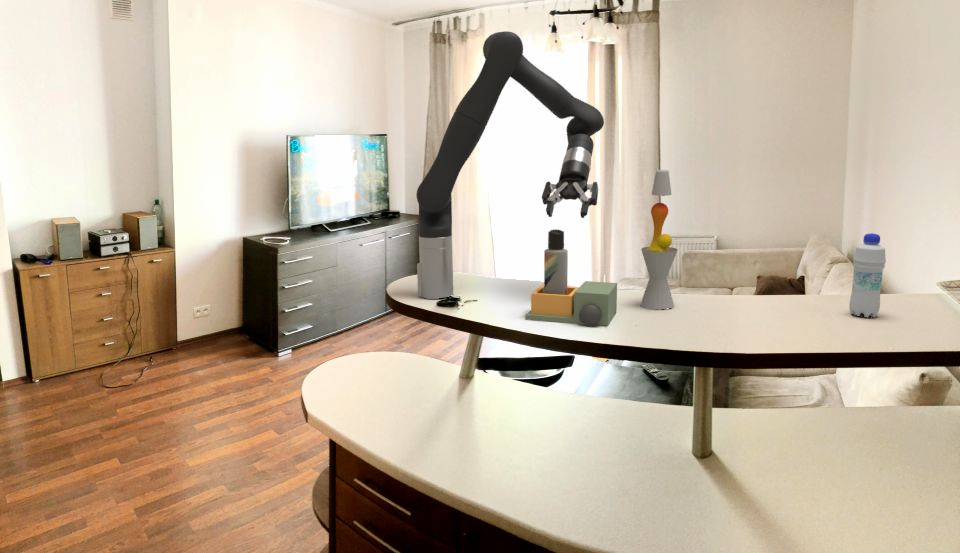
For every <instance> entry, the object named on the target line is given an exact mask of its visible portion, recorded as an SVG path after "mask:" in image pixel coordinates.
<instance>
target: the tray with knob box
mask: <svg viewBox="0 0 960 553" xmlns="http://www.w3.org/2000/svg"><path fill="white" fill-rule="evenodd" d="M617 301H618V283H617V282H605V281H590V280H589V281H588V280H585V281H584V282H583V283H582V284H581V285H580V286H579V287H575V286H567V295H558V294H544V284H542V285H540V286H539V287H537V288H536V289H535V290H534V291H532V292H531V293H530V310H529V311H527V313H526V314H525V317H524V318H525V320H527V321H528V320H529V321H541V322H552V323H564V324H565V323H566V324H576V325H585V326H586V327H591V328H592V327H595V326H600V327H601V326H603V327H609V325H610V324H611V322H612V321H613V319H614V318H615V316H616V314H617V308H618V307H617V305H618V304H617V303H618V302H617Z"/></svg>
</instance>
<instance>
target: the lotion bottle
mask: <svg viewBox="0 0 960 553" xmlns="http://www.w3.org/2000/svg"><path fill="white" fill-rule="evenodd" d="M547 234H548V235H547V236H548V237H547V249H544V257H543V259H544V261H543V262H544V264H543V267H544V269H543V272H544V273H543V274H544V275H543V277H544V278H543V279H544V280H543V283H544V284H543V285H544V294H558V295H567V287H568V268H569V267H568V260H569V259H568V258H569V257H568V255H569V253H568V252H569V251H568V249H566V248H565V231H563V230H561V229H551V230H549V231H548V233H547Z"/></svg>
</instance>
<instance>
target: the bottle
mask: <svg viewBox="0 0 960 553" xmlns="http://www.w3.org/2000/svg"><path fill="white" fill-rule="evenodd" d="M880 243H881V236H880V235H879V234H878V233H871V232H870V233H866V234H865V235H864V236H863V243H861V244H859V245H856V247H855V251H854V255H853V259H852V260H853V262H852V266H853V277H852V284H851V286H852V288H851V294H850V299H849V311H850V312H849V313H850V314H851V315H852V314H855V315H854V316H856V315H857V316H860V317H861V315H862V314H863V318H865V317H868V318H869V317H870V316H871V317H870V318H872V317H873V318H876V316H877V315H878V314H879V311H880V309H881V308H880V307H881V289H882V288H881V287H882V281H883V270H884V269H885V267H886V262H887V260H886V248H885V247H884V246H882V245H880ZM861 313H862V314H861ZM857 316H856V317H857Z"/></svg>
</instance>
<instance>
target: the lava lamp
mask: <svg viewBox="0 0 960 553" xmlns="http://www.w3.org/2000/svg"><path fill="white" fill-rule="evenodd" d="M654 175H655V176H654V179H653V180H654V181H653V185H652V190H651V196H660V197H661V196H662V197H666V196H672V195H673V194H672V188H671V187H672V186H671V179H670V178H671V177H670V172H669V170H668V169H657V170H656V171H655V173H654ZM650 215H651V218H652V223H653V236H652V240H651V243H650V245H649V246H644V247H642V248H641V254H642V256H643V259H644V263H645V266H646V269H647V273H648V275H649V276H648V277H649V279H648V282H647V284H646V288H645V290H644V292H643V296H642V299H641V301H640V304H639V305H640V307H641V306H642V307H641V308H643V307H644V308H643V309H647V308H648V310H653V309H667V308H672V309H674V308H675V303H674V299H673V296H672V292H671V289H670V285H669V282H668V275H669V273H670V271H671V269H672V266H673V263H674V261H675V258H676V256H677V253H678V248H676V247H670V246H671V245H672V243H673V239H672V236H671V235H670V234H667V233H663V234H662V232H663V228H664V224H665V221H666V219H667V217H668V215H669V207H668V206H667V205H666V204H665V203H664V202H657V203H655V204H653V205H652V206H651V209H650ZM673 307H674V308H673ZM667 310H668V309H667Z"/></svg>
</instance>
